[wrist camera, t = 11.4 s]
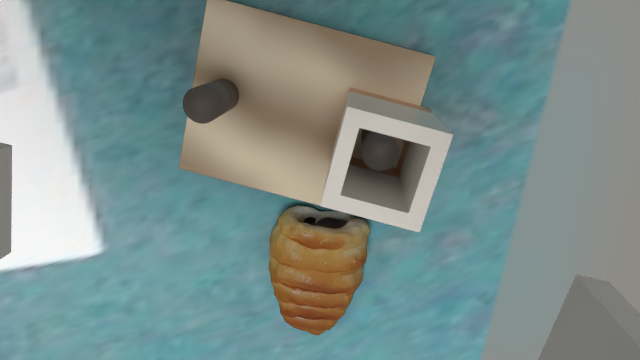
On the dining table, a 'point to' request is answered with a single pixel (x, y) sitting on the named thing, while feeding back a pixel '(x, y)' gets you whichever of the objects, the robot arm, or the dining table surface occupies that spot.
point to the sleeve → (395, 183)
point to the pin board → (287, 99)
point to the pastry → (316, 265)
